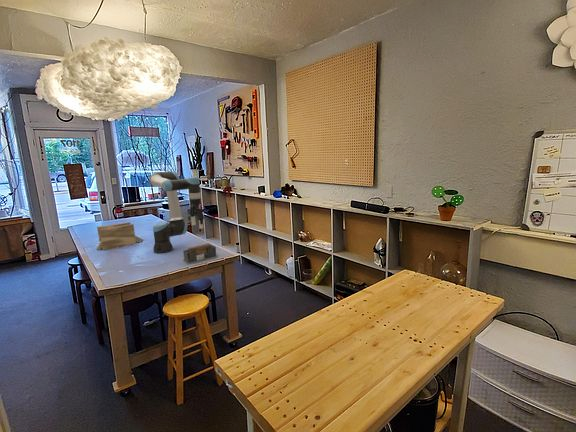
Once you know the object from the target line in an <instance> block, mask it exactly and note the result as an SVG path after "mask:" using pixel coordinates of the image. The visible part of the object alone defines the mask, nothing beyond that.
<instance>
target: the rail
mask: <svg viewBox="0 0 576 432" xmlns="http://www.w3.org/2000/svg"><path fill="white" fill-rule="evenodd" d="M211 245H212V243H205V244H204V243H203V244H200V245H196V246H191V247H187V249H186V250H188V253H189V252H193V251H196V255H197V256H200V255H204V254H205V253H207V248H210V247H211Z"/></svg>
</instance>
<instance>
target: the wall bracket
mask: <svg viewBox="0 0 576 432" xmlns="http://www.w3.org/2000/svg"><path fill="white" fill-rule="evenodd" d="M109 225H110V226H109V228H111V227H113V226H111V225H112V224H109ZM135 240H136V243H140V242H143V241H144V239H143V238H141V237H139V236H137V235H135ZM101 249H102V243H101V241H100V242H98V245H97V246H96V250H99V251H101Z"/></svg>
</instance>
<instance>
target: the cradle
mask: <svg viewBox="0 0 576 432" xmlns="http://www.w3.org/2000/svg"><path fill="white" fill-rule="evenodd" d="M110 225H111V226H113V227H111V228H109V226H110ZM134 226H135V225H134V224H133V223H132V224H131V222H130V221H127V222H120V223H116V224H107V225H102V226H96V228H97V229H96V230H97V234H98V235H97V236H98V243H100V241H101V243H102V248H101V249H102V250H103V251H106V250H111V249H117V248H122V247H123V248H124V247H127V246H133V245H137V242H136V240H135V236H136V233H135V227H134Z"/></svg>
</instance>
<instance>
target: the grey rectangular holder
mask: <svg viewBox="0 0 576 432" xmlns="http://www.w3.org/2000/svg"><path fill="white" fill-rule="evenodd" d="M183 258H184V259H182V260H183V262H184V263H185V264H187V265H191V264H196V263H200V262H203V261H207V260H211V259H215V258H218V255H217V249H216V245H215V246H214V245H213V244H211V247H210V248H207V253H205V254H201V255H196V251H193V252H189V253H188V249H186V250H183Z"/></svg>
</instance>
